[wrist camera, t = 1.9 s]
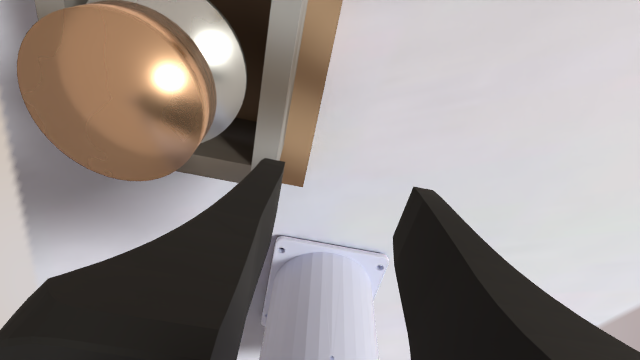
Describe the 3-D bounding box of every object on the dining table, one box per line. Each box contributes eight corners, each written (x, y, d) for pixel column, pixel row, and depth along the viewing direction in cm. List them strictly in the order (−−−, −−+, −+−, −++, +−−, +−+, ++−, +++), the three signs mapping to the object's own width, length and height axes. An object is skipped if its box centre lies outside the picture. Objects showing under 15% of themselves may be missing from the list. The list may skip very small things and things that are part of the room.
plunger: (239, 155, 15) (214, 209, 12) (91, 126, 15) (23, 174, 12) (255, -3, 12) (226, 14, 9) (68, -45, 12) (-33, -44, 9)
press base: (304, 174, 23) (295, 237, 18) (106, 135, 22) (37, 190, 17) (363, -105, 16) (376, -132, 11) (71, -179, 15) (-69, -248, 10)
